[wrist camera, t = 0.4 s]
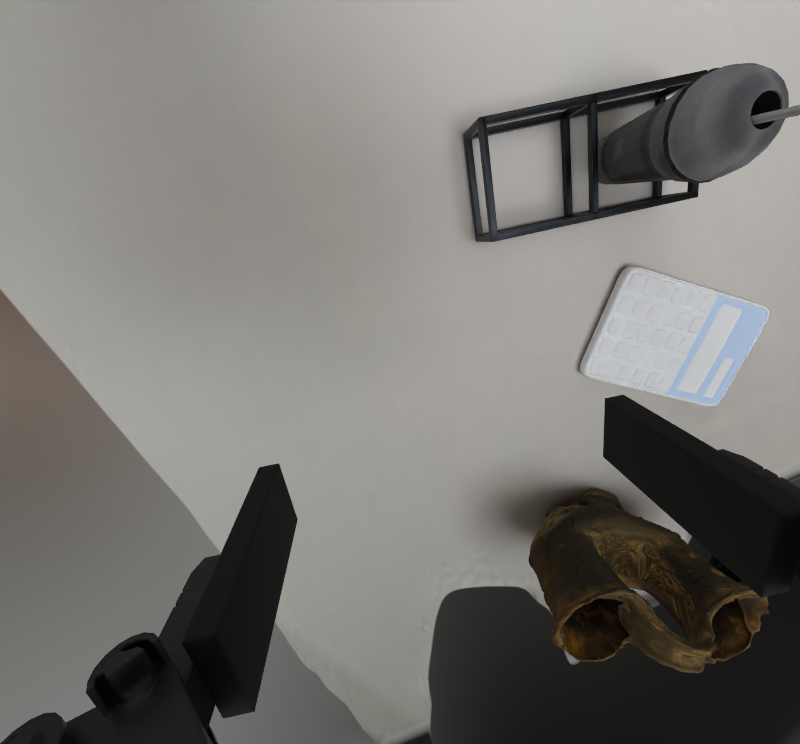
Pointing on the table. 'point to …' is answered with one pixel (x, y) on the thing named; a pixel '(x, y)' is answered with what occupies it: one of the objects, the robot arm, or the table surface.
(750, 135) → the beverage cup
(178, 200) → the table surface
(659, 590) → the pottery vessel
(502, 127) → the rack
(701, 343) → the calculator
